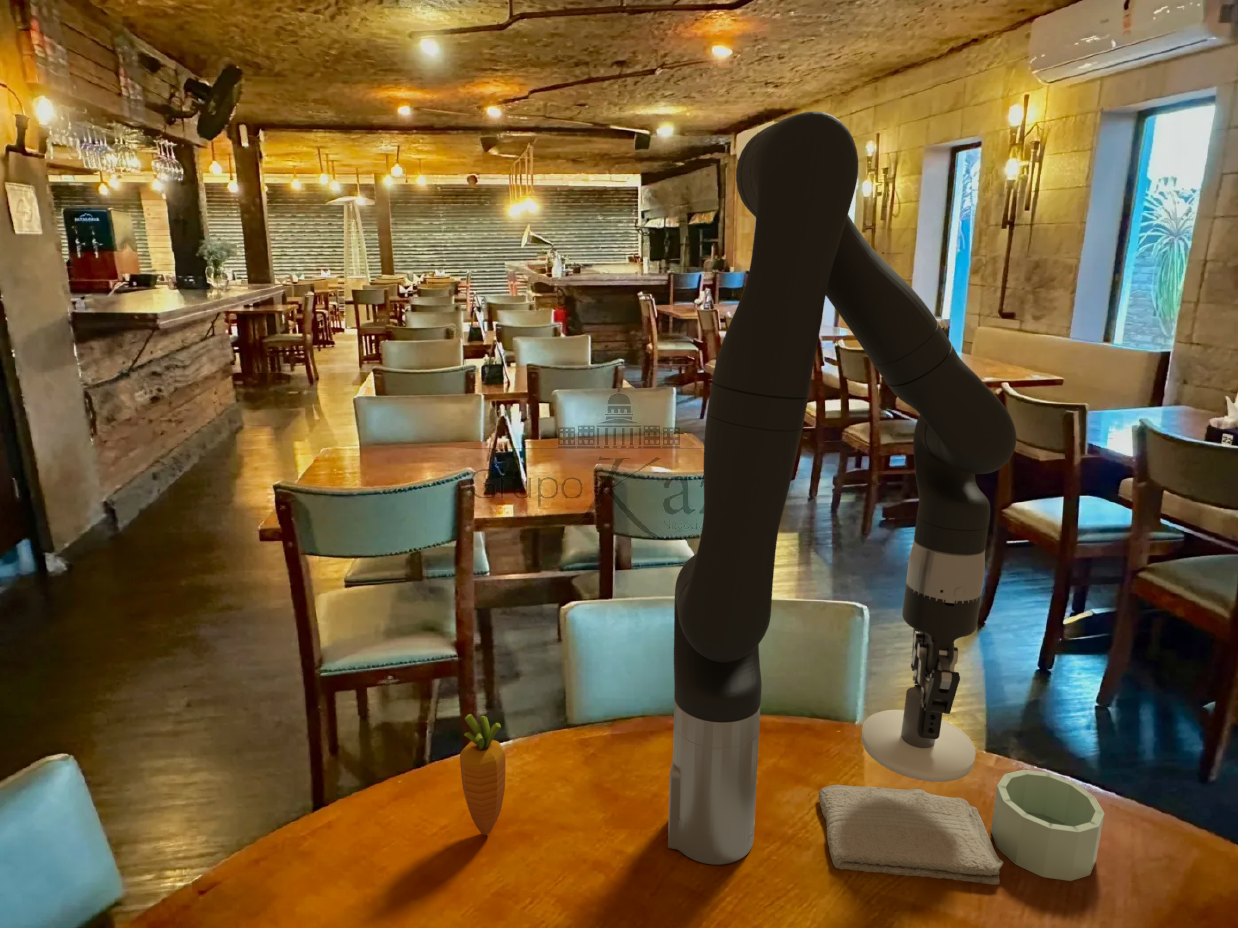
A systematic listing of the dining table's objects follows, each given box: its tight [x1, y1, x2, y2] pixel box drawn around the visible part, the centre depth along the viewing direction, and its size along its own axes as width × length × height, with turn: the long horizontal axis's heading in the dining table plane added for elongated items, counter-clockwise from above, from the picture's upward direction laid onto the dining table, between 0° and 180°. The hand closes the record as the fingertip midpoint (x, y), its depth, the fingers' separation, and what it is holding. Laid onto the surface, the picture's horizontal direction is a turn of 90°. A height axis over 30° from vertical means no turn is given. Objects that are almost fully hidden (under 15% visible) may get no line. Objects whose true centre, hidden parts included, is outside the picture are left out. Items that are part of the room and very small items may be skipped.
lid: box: [861, 686, 977, 783], centre depth 89 cm, size 12×12×7 cm
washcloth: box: [818, 784, 1004, 885], centre depth 89 cm, size 12×18×3 cm, turn 83°
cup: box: [990, 769, 1105, 882], centre depth 87 cm, size 10×10×6 cm
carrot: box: [459, 713, 506, 836], centre depth 88 cm, size 5×5×15 cm
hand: (924, 725), depth 89 cm, fingers closed on lid, 3 cm apart
